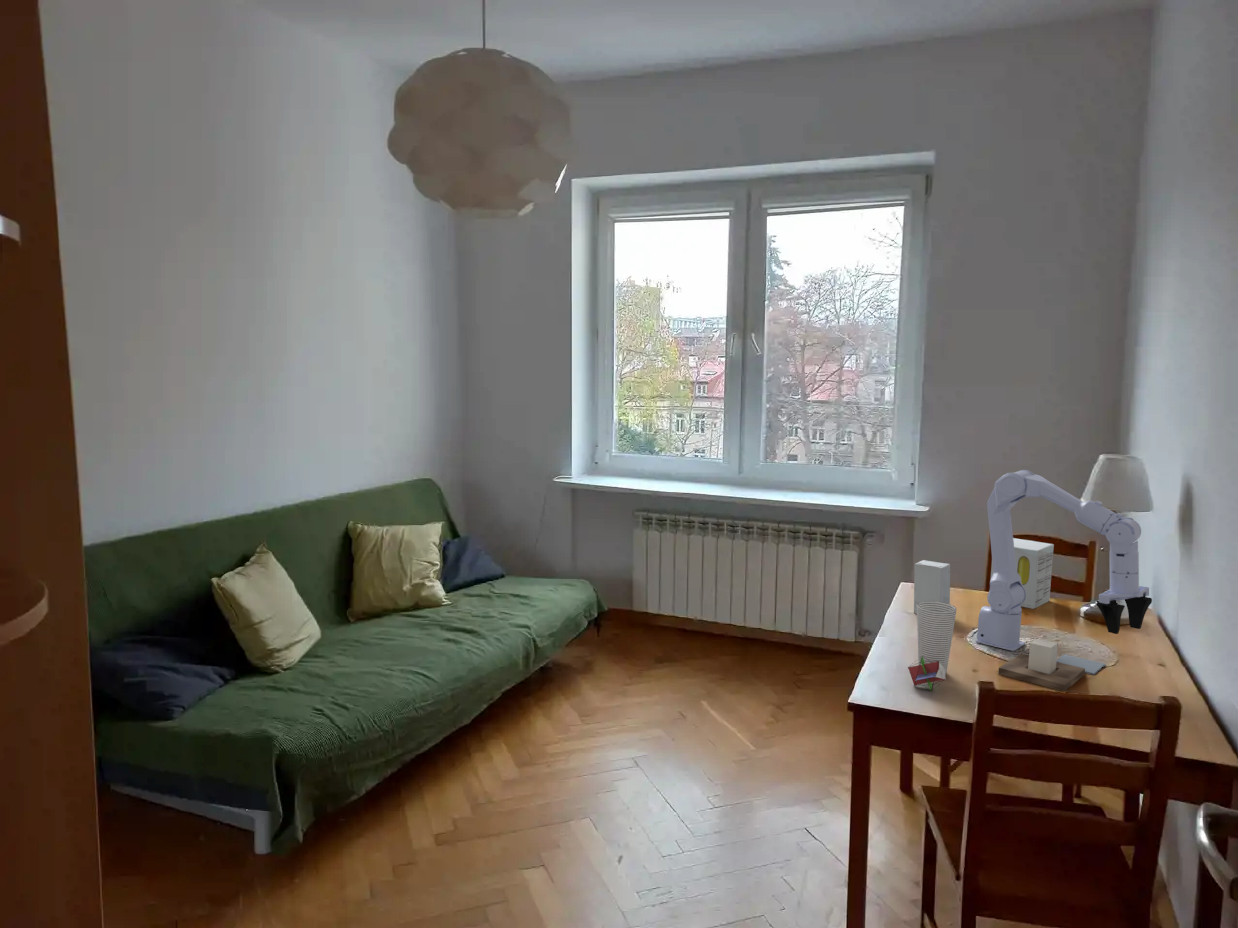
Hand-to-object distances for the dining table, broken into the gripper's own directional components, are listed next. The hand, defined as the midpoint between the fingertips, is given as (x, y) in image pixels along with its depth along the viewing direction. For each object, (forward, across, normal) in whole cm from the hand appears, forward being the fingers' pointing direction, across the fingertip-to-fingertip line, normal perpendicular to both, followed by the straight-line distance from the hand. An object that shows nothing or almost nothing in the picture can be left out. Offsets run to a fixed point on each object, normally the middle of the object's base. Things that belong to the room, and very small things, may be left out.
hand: (1124, 630), depth 194 cm
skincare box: (+6, -8, +52) cm, 53 cm away
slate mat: (+9, -5, +8) cm, 13 cm away
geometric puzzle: (+8, -49, +11) cm, 51 cm away
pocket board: (+9, -18, +7) cm, 22 cm away
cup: (+8, -41, +18) cm, 45 cm away
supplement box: (+7, +28, +53) cm, 60 cm away
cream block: (+9, -18, +7) cm, 22 cm away
